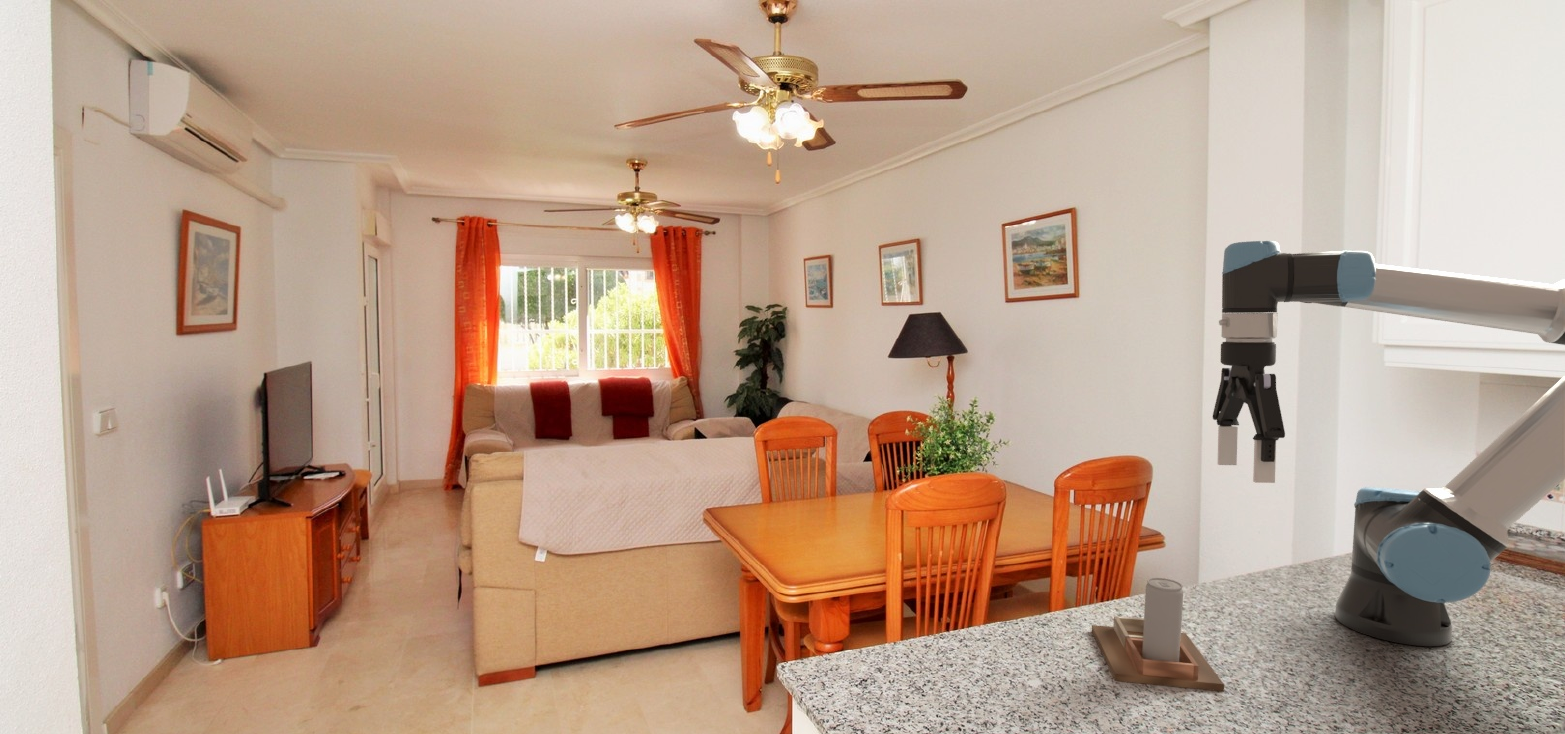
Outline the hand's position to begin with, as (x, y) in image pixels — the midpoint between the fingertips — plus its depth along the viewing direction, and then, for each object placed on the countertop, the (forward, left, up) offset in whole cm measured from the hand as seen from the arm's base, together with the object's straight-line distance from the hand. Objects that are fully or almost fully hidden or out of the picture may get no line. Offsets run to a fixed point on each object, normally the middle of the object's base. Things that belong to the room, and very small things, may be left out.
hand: (1244, 473), depth 125 cm
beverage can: (+16, +18, -25) cm, 35 cm away
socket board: (+16, +14, -26) cm, 34 cm away
